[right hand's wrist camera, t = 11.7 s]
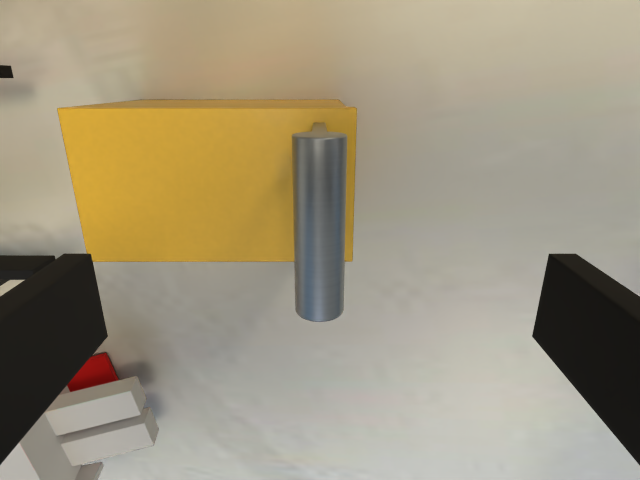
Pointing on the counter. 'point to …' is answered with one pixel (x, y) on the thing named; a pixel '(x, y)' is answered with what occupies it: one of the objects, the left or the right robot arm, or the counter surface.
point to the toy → (84, 427)
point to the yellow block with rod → (220, 189)
